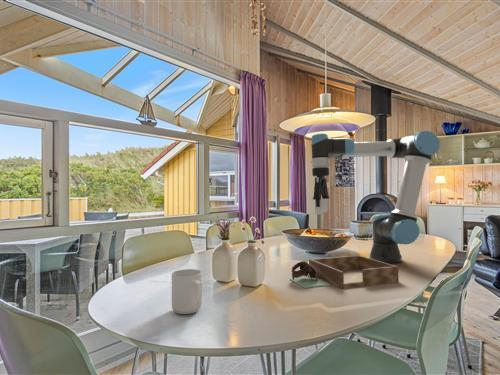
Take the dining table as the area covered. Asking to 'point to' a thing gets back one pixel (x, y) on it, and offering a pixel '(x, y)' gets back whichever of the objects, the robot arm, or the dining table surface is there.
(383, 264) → the crate
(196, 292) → the mug
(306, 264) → the brown hollow vessel
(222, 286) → the dining table surface
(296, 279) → the mat
